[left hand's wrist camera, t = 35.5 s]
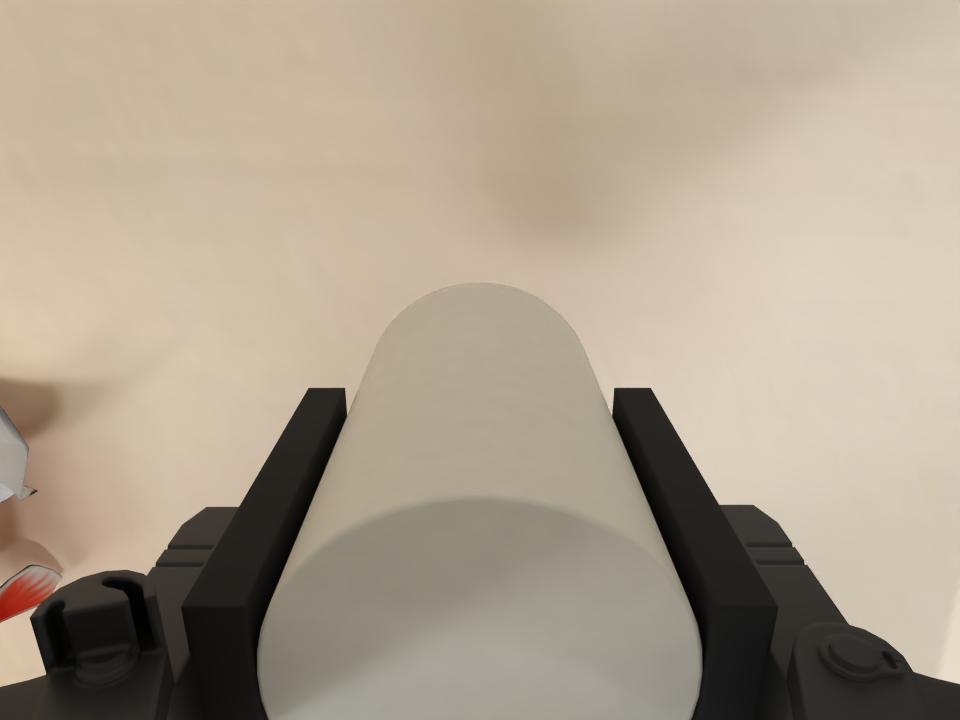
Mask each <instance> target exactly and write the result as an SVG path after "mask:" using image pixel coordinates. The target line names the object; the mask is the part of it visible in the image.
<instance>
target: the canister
mask: <svg viewBox="0 0 960 720" xmlns="http://www.w3.org/2000/svg"><path fill="white" fill-rule="evenodd" d="M702 672H703V657H702V643H701V638H700V633H699V629H698V624H697V621H696V619H695V616H694V614H693V611H692V608H691V606H690V603H689V601H688V598H687V596H686V594H685V591H684V589H683V586H682V584H681V582H680V579H679V577H678V574H677V572H676V569H675V567H674V565H673V562H672V560H671V557H670V555H669V553H668V550H667V548H666V545H665V543H664V541H663V538H662V536H661V533H660V531H659V529H658V526H657V524H656V521H655V519H654V517H653V514H652V512H651V509H650V507H649V504H648V502H647V500H646V497H645V495H644V492H643V490H642V488H641V485H640V483H639V480H638V478H637V476H636V473H635V471H634V468H633V466H632V464H631V461H630V459H629V456H628V454H627V451H626V449H625V447H624V444H623V442H622V439H621V437H620V435H619V432H618V430H617V427H616V425H615V423H614V420H613V418H612V415H611V413H610V411H609V408H608V406H607V403H606V401H605V399H604V396H603V394H602V391H601V389H600V386H599V384H598V382H597V379H596V377H595V374H594V372H593V370H592V367H591V365H590V362H589V360H588V358H587V355H586V353H585V350H584V348H583V346H582V343H581V342H580V340H579V338H578V336H577V335H576V333H575V331H574V330H573V329H572V327H571V326H570V325H569V324H568V322H567V321H566V320H565V319H564V318H563V317H562V316H561V315H560V314H559V313H558V312H557V311H556V310H555V309H553V308H552V307H551V306H549V305H548V304H547V303H545V302H544V301H542V300H540V299H539V298H537V297H535V296H533V295H531V294H529V293H527V292H524V291H521V290H519V289H516V288H512V287H508V286H504V285H499V284H491V283H468V284H461V285H454V286H451V287H447V288H443V289H440V290H437V291H435V292H433V293H430V294H428V295H426V296H424V297H422V298H421V299H419V300H417V301H415V302H414V303H412V304H411V305H410V306H408V307H407V308H406V309H405V310H403V311H402V312H401V313H400V314H399V315H398V316H397V317H396V318H395V319H394V320H393V321H392V322H391V323H390V325H389V326H388V328H387V329H386V330H385V332H384V333H383V334H382V336H381V338H380V340H379V342H378V344H377V346H376V348H375V350H374V353H373V355H372V358H371V360H370V362H369V365H368V367H367V370H366V372H365V374H364V377H363V379H362V382H361V384H360V387H359V389H358V391H357V394H356V396H355V399H354V401H353V403H352V406H351V408H350V411H349V413H348V416H347V418H346V420H345V423H344V425H343V428H342V430H341V432H340V435H339V437H338V440H337V442H336V445H335V447H334V449H333V452H332V454H331V457H330V459H329V461H328V464H327V466H326V469H325V471H324V474H323V476H322V478H321V481H320V483H319V486H318V488H317V491H316V493H315V495H314V498H313V500H312V503H311V505H310V507H309V510H308V512H307V515H306V517H305V520H304V522H303V524H302V527H301V529H300V532H299V534H298V536H297V539H296V541H295V544H294V546H293V549H292V551H291V553H290V556H289V558H288V561H287V563H286V565H285V568H284V570H283V573H282V575H281V578H280V580H279V582H278V585H277V587H276V590H275V592H274V594H273V597H272V599H271V602H270V604H269V607H268V610H267V612H266V615H265V618H264V621H263V623H262V626H261V630H260V636H259V641H258V647H257V677H258V683H259V689H260V695H261V700H262V703H263V706H264V709H265V712H266V715H267V717H268V720H691V718H692V716H693V713H694V710H695V707H696V704H697V700H698V697H699V693H700V686H701V679H702Z"/></svg>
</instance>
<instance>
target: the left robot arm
mask: <svg viewBox="0 0 960 720" xmlns="http://www.w3.org/2000/svg"><path fill="white" fill-rule="evenodd" d="M346 418H347V408H346V395H345V388H309V389H308V390H307V392H306V394H305V395H304V397H303V399H302V400H301V402H300V404H299V406H298V407H297V409H296V411H295V412H294V414H293V416H292V418H291V419H290V421H289V423H288V424H287V426H286V428H285V430H284V431H283V433H282V435H281V436H280V438H279V440H278V442H277V443H276V445H275V447H274V448H273V450H272V452H271V453H270V455H269V457H268V459H267V460H266V462H265V464H264V465H263V467H262V469H261V471H260V472H259V474H258V476H257V477H256V479H255V481H254V483H253V484H252V486H251V488H250V489H249V491H248V493H247V495H246V496H245V498H244V500H243V501H242V503H241V505H240V506H239V507H206V508H205V509H203V510H202V511H200V512H199V513H198V514H196V515H195V516H194V517H192V518H191V519H189V520H188V521H187V522H185V523H184V524H183V525H182V526H181V527H180V529H179V530H178V532H177V533H176V534H175V536H174V537H173V539H172V540H171V542H170V543H169V544H168V549H167V550H164V552H163V553H162V555H161V556H160V557H159V559H158V560H157V562H156V566H155V567H153V568H152V569H151V570H150V572H149V573H148V575H147V576H146V575H144V574H142V573H138V572H133V571H129V570H118V571H105V572H101V573H97V574H93V575H90V576H86V577H82V578H80V579H78V580H76V581H74V582H72V583H70V584H68V585H66V586H63V587H61V588H59V589H58V590H57V591H56V592H54V593H53V594H52V595H50V596H49V597H48V598H46V599H45V600H44V601H42V602H41V603H40V605H39V606H38V607H37V609H36V610H35V612H34V613H33V614H32V616H31V617H30V620H31V624H32V627H33V630H34V634H35V637H36V640H37V644H38V647H39V650H40V654H41V657H42V660H43V664H44V667H45V670H46V675H44V676H41V677H38V678H35V679H31V680H28V681H24V682H20V683H15V684H11V685H7V686H3V687H0V720H268V717H267V715H266V712H265V709H264V706H263V703H262V700H261V695H260V689H259V683H258V677H257V647H258V641H259V636H260V630H261V626H262V623H263V621H264V618H265V615H266V612H267V610H268V607H269V604H270V602H271V599H272V597H273V594H274V592H275V590H276V587H277V585H278V582H279V580H280V578H281V575H282V573H283V570H284V568H285V565H286V563H287V561H288V558H289V556H290V553H291V551H292V549H293V546H294V544H295V541H296V539H297V536H298V534H299V532H300V529H301V527H302V524H303V522H304V520H305V517H306V515H307V512H308V510H309V507H310V505H311V503H312V500H313V498H314V495H315V493H316V491H317V488H318V486H319V483H320V481H321V478H322V476H323V474H324V471H325V469H326V466H327V464H328V461H329V459H330V457H331V454H332V452H333V449H334V447H335V445H336V442H337V440H338V437H339V435H340V432H341V430H342V428H343V425H344V423H345V420H346ZM612 418H613V420H614V423H615V425H616V427H617V430H618V432H619V435H620V437H621V439H622V442H623V444H624V447H625V449H626V451H627V454H628V456H629V459H630V461H631V464H632V466H633V468H634V471H635V473H636V476H637V478H638V480H639V483H640V485H641V488H642V490H643V492H644V495H645V497H646V500H647V502H648V504H649V507H650V509H651V512H652V514H653V517H654V519H655V521H656V524H657V526H658V529H659V531H660V533H661V536H662V538H663V541H664V543H665V545H666V548H667V550H668V553H669V555H670V557H671V560H672V562H673V565H674V567H675V569H676V572H677V574H678V577H679V579H680V582H681V584H682V586H683V589H684V591H685V594H686V596H687V598H688V601H689V603H690V606H691V608H692V611H693V614H694V616H695V619H696V621H697V624H698V629H699V633H700V638H701V643H702V657H703V672H702V679H701V686H700V693H699V697H698V700H697V704H696V707H695V710H694V713H693V716H692V718H691V720H960V684H956V683H952V682H948V681H944V680H939V679H935V678H931V677H928V676H925V675H921V674H918V673H915V672H913V671H912V669H911V667H910V666H909V664H908V663H907V661H906V660H905V658H904V656H903V655H901V654H900V653H899V652H898V651H897V650H896V649H894V648H893V647H892V646H891V645H890V644H889V643H888V642H886V641H885V640H883V639H881V638H879V637H877V636H876V635H874V634H872V633H870V632H868V631H866V630H864V629H861V628H858V627H854V626H851V625H849V624H848V623H847V621H846V620H845V618H844V617H843V616H842V614H841V613H840V611H839V610H838V608H837V607H836V605H835V604H834V603H833V601H832V600H831V598H830V597H829V595H828V594H827V593H826V591H825V590H824V588H823V587H822V585H821V584H820V583H819V581H818V580H817V578H816V577H815V575H814V574H813V573H812V571H811V570H810V568H809V567H808V565H805V564H804V560H803V558H802V557H801V555H800V554H799V552H798V551H797V550H796V548H795V547H792V542H791V541H790V540H789V538H788V537H787V535H786V534H785V532H784V531H783V530H782V528H781V527H780V525H779V524H778V523H777V522H776V521H775V520H773V519H772V518H771V517H769V516H768V515H766V514H765V513H764V512H762V511H761V510H759V509H758V508H757V507H755V506H754V505H719V504H718V502H717V501H716V499H715V497H714V495H713V494H712V492H711V490H710V489H709V487H708V485H707V484H706V482H705V480H704V478H703V477H702V475H701V473H700V472H699V470H698V468H697V466H696V465H695V463H694V461H693V460H692V458H691V456H690V454H689V453H688V451H687V449H686V448H685V446H684V444H683V442H682V441H681V439H680V437H679V436H678V434H677V432H676V431H675V429H674V427H673V425H672V424H671V422H670V420H669V419H668V417H667V415H666V413H665V412H664V410H663V408H662V407H661V405H660V403H659V401H658V400H657V398H656V396H655V395H654V393H653V391H652V390H651V388H614V401H613V414H612Z"/></svg>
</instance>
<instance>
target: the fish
mask: <svg viewBox="0 0 960 720" xmlns="http://www.w3.org/2000/svg"><path fill="white" fill-rule="evenodd" d="M28 452H29V447H28V445H27V444H26V442H25V441H24V439H23V438H22V436H21V435H20V433H19V432H18V430H17V429H16V427H15V426H14V424H13V423H12V421H11V420H10V418H9V417H8V415H7V414H6V412H5V411H4V409H2V408H1V407H0V502H2V501H4V500H6V499H7V498H9V497H10V496H12V495H14V494H16V496H17V497H18V499H19V501H22V500H23V499H25V498H27V497H28V496H30V495H32V494H34V493H35V492H37V490H34V489H32V488H30V487H27V486H23V481H24V475H25V470H26V464H27V458H28ZM61 579H62V576H61V575H60V574H58V573H57V572H55V571H54V570H53V569H49V568H46V567H43V566H40V565H29V566H27V567H26V568H24V569H23V570H22V571H20V572H19V573H17V574H16V575H14V576H13V577H11V578H10V579H8V580H7V581H6V582H5V583H4V584H3V585H2V586H1V587H0V622H3V621H5V620H7V619H9V618H12V617H14V616H16V615H18V614H21V613H23V612H26V611H28V610H30V609H32V608H35V607H37V606H39V605H40V603H41V602H42V601H44V600H45V599H46V598H48V597H49V596H50V595H52V593H53V591H54V589H55V587H56V585H57V584H58V582H59V581H60V580H61Z"/></svg>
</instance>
